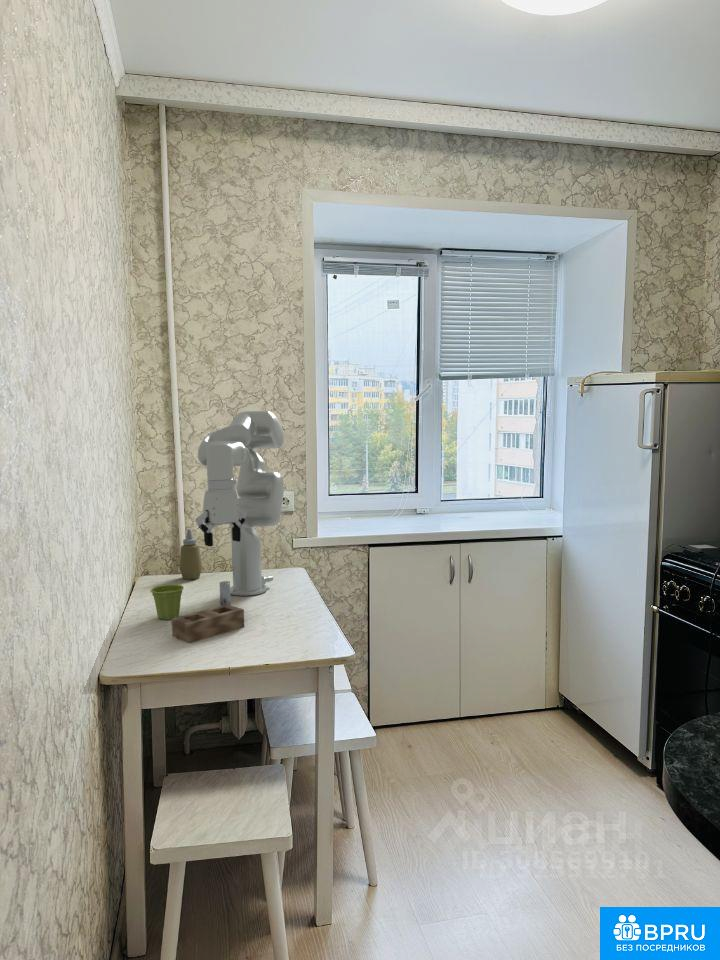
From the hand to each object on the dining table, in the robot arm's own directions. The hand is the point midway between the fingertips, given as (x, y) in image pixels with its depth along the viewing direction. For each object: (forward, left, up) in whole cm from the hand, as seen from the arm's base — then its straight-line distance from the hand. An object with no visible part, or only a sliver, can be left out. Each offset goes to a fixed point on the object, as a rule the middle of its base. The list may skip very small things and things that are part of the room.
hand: (222, 543), depth 202 cm
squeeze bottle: (-19, -48, -22) cm, 56 cm away
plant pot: (+12, -12, -22) cm, 28 cm away
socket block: (+12, +9, -22) cm, 26 cm away
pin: (0, 0, -22) cm, 22 cm away
